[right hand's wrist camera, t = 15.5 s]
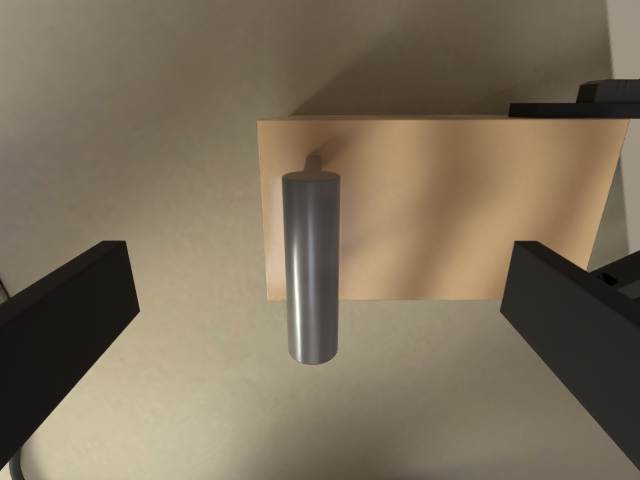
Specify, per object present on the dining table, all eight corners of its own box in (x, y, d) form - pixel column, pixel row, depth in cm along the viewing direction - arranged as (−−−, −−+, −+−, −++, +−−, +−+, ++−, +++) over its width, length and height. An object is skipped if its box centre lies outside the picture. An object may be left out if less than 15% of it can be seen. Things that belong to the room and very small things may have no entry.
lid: (269, 293, 21) (242, 397, 14) (259, 119, 18) (215, 129, 10) (568, 292, 21) (707, 394, 14) (616, 118, 18) (838, 127, 10)
